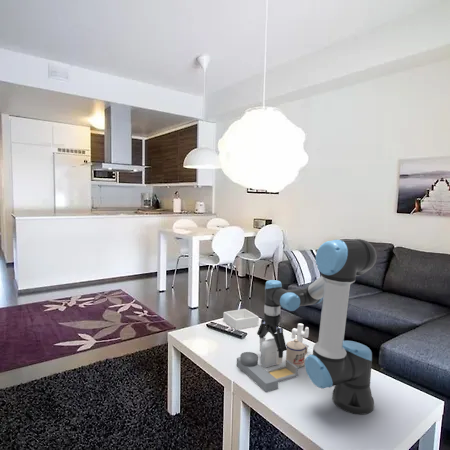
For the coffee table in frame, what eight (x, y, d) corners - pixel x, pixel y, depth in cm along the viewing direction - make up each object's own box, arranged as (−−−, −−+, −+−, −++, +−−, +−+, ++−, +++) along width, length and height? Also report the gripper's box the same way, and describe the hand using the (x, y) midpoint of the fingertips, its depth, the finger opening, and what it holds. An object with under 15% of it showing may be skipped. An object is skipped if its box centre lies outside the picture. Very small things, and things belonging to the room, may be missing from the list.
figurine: (295, 347, 177) (297, 319, 176) (311, 353, 170) (312, 324, 169) (287, 351, 172) (288, 322, 171) (302, 357, 165) (304, 328, 164)
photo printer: (264, 369, 153) (265, 343, 152) (258, 364, 157) (259, 339, 156) (281, 364, 158) (282, 338, 157) (276, 360, 162) (277, 335, 161)
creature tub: (258, 326, 204) (258, 316, 204) (235, 330, 197) (236, 320, 196) (244, 317, 218) (245, 308, 218) (223, 321, 211) (223, 312, 211)
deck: (304, 380, 144) (305, 366, 144) (263, 392, 134) (264, 377, 134) (271, 356, 165) (272, 343, 165) (234, 365, 155) (235, 352, 155)
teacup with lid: (294, 369, 153) (295, 345, 152) (281, 361, 161) (282, 337, 160) (313, 363, 159) (314, 340, 158) (299, 355, 167) (300, 333, 166)
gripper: (295, 321, 146) (293, 367, 148) (263, 304, 168) (262, 344, 170) (282, 324, 143) (280, 371, 145) (251, 306, 165) (249, 347, 167)
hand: (270, 357), depth 157 cm, fingers open, 13 cm apart
